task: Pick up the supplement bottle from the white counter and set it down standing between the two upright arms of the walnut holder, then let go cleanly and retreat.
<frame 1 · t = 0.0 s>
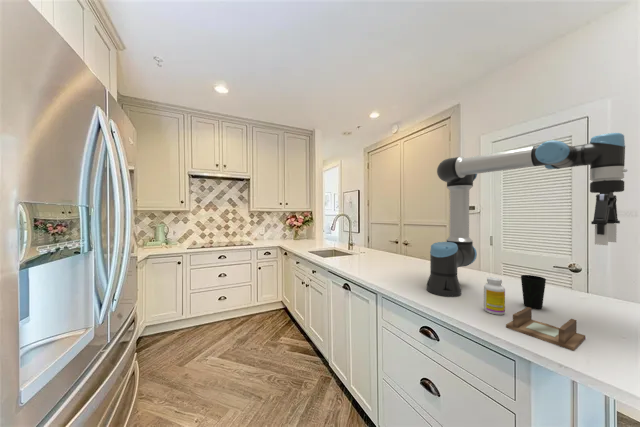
hand: (605, 243, 82), 28 cm above the worktop, fingers open, 13 cm apart
supplement bottle: (494, 312, 94), on the worktop
holder: (543, 332, 77), on the worktop
cup: (532, 307, 99), on the worktop
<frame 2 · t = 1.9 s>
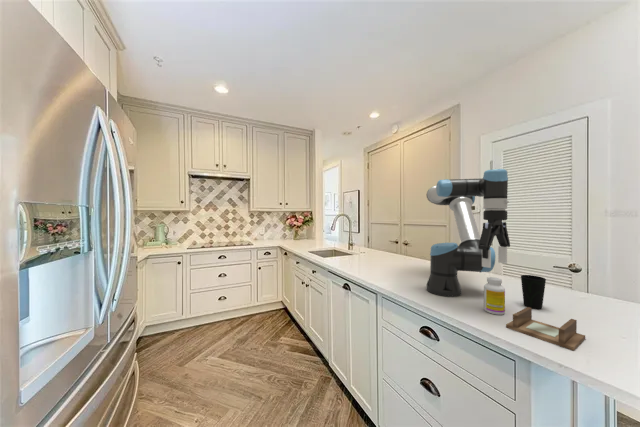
hand: (494, 265, 93), 18 cm above the worktop, fingers open, 13 cm apart
nothing on the worktop moved.
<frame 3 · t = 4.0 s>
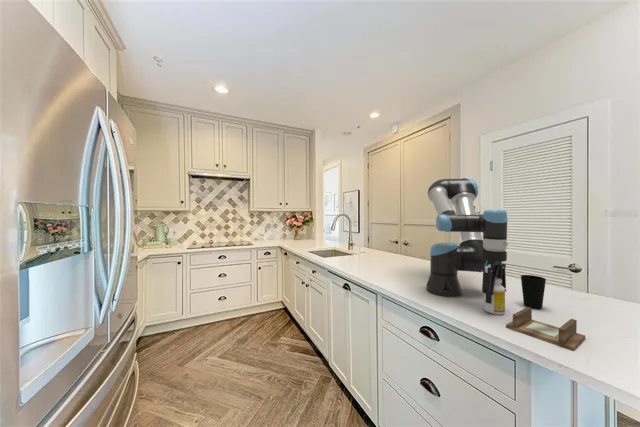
hand: (494, 309, 94), 1 cm above the worktop, fingers closed on supplement bottle, 7 cm apart
supplement bottle: (494, 312, 94), on the worktop, touching gripper
everything else where it was.
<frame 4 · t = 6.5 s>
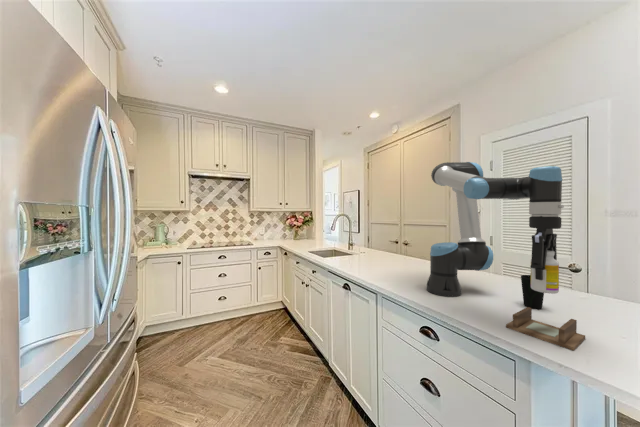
hand: (544, 287, 77), 14 cm above the worktop, fingers closed on supplement bottle, 7 cm apart
supplement bottle: (544, 291, 77), point 13 cm above the worktop, touching gripper
everything else where it was.
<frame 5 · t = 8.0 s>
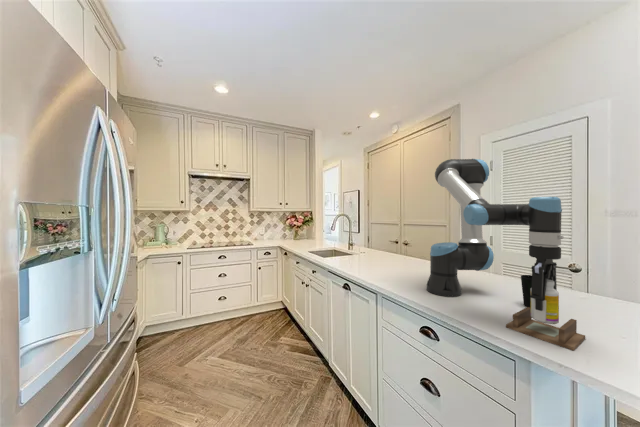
hand: (544, 317, 77), 5 cm above the worktop, fingers closed on supplement bottle, 7 cm apart
supplement bottle: (544, 320, 77), point 4 cm above the worktop, touching gripper
everything else where it was.
when the fingers open (3 cm above the worktop, at t = 9.1 s): supplement bottle drops 1 cm, resting on holder.
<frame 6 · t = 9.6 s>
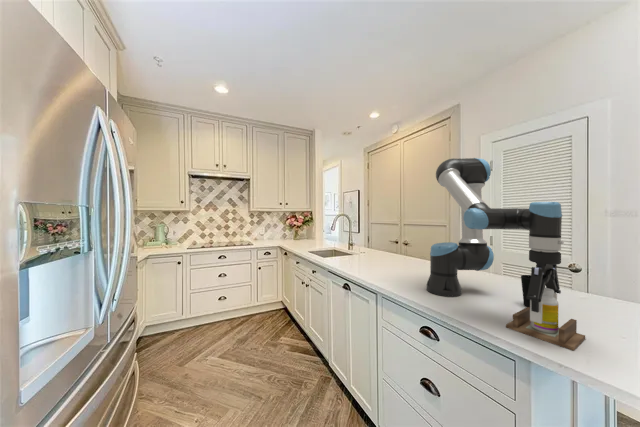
hand: (543, 316, 77), 5 cm above the worktop, fingers open, 13 cm apart
supplement bottle: (543, 329, 77), point 1 cm above the worktop, touching holder
everything else where it was.
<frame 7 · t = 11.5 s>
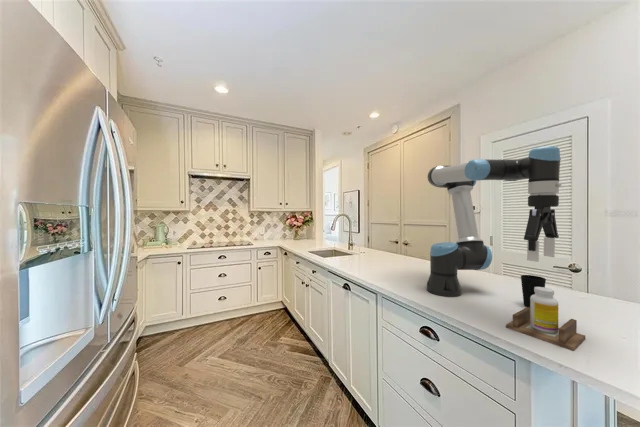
hand: (541, 258, 81), 23 cm above the worktop, fingers open, 13 cm apart
nothing on the worktop moved.
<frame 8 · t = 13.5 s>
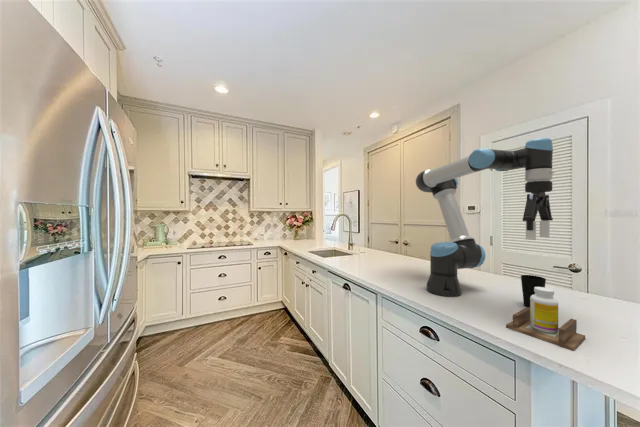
hand: (537, 238, 90), 29 cm above the worktop, fingers open, 13 cm apart
nothing on the worktop moved.
at the end: supplement bottle inside the target area on the holder (0.0 cm from its centre), point 1.0 cm above the holder's base; supplement bottle tilted 0°; the gripper is holding nothing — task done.
